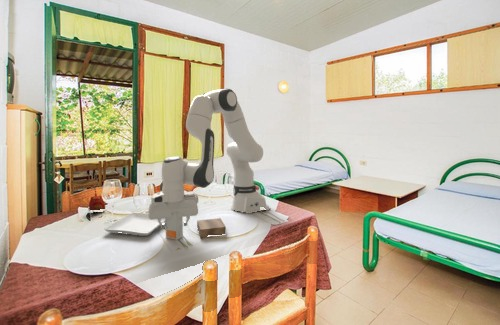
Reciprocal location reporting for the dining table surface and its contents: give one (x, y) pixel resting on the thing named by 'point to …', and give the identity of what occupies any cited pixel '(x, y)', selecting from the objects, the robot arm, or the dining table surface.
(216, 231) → the walnut base
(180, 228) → the skincare box
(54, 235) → the dining table surface
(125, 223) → the salad plate
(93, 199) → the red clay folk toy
